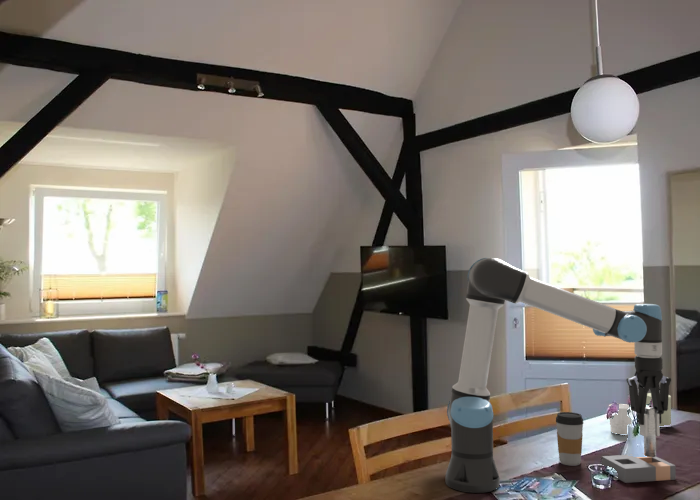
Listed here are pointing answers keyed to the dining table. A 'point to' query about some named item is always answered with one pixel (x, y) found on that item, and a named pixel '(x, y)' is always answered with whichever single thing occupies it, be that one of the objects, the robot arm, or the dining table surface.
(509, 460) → the dining table surface
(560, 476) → the dining table surface
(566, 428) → the coffee cup
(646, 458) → the mount block
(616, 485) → the dining table surface
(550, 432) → the dining table surface
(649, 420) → the pin
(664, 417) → the can
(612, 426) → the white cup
